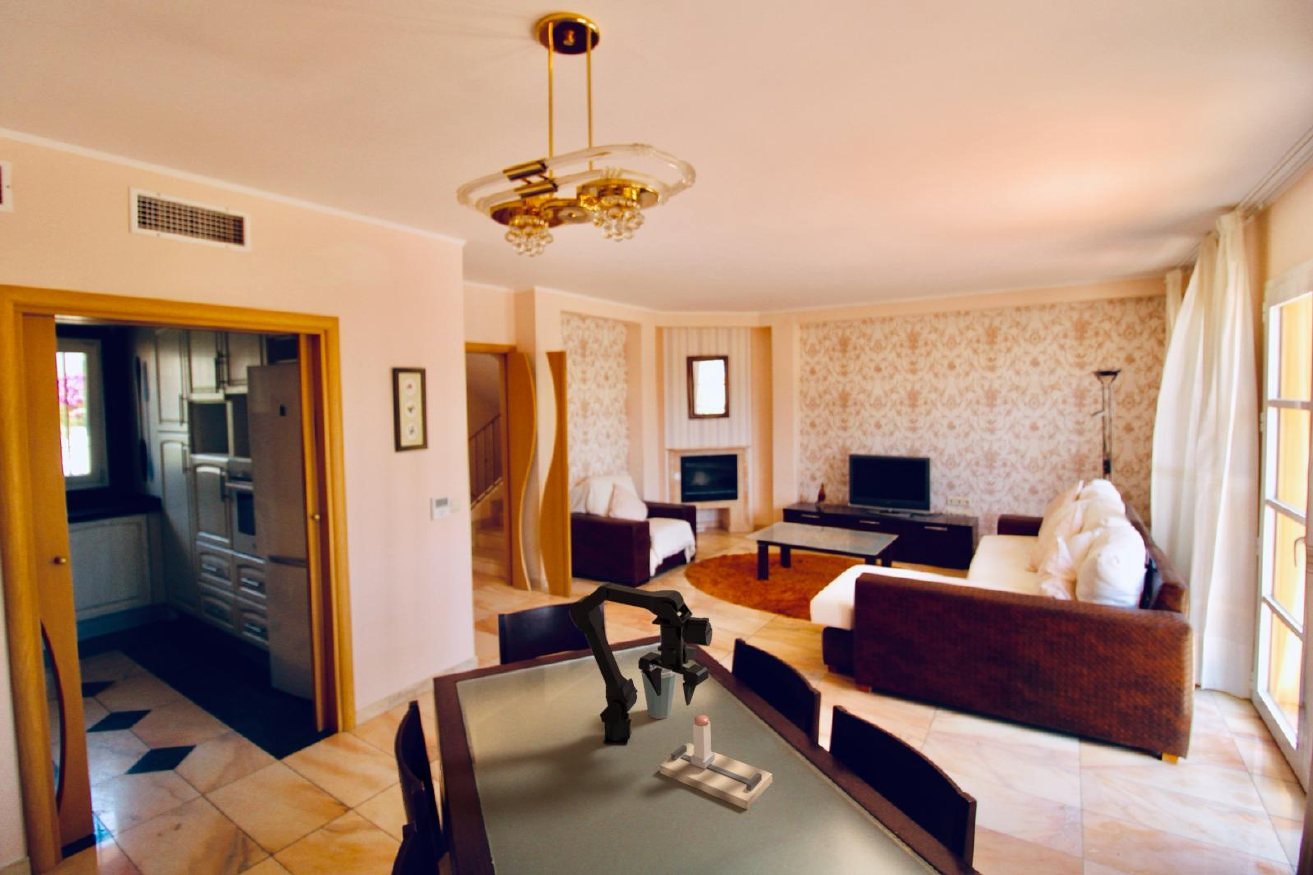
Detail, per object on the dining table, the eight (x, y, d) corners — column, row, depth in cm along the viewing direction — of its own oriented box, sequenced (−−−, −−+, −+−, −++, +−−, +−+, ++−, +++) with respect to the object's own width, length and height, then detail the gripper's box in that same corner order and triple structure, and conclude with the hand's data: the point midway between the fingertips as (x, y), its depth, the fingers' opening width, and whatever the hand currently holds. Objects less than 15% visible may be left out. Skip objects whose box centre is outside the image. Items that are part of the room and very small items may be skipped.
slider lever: (690, 763, 150) (689, 720, 149) (700, 754, 153) (699, 712, 153) (704, 769, 147) (703, 725, 147) (714, 760, 151) (713, 717, 150)
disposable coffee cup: (636, 719, 177) (634, 668, 176) (650, 701, 187) (648, 653, 186) (670, 725, 173) (669, 673, 172) (683, 707, 183) (682, 657, 182)
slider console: (660, 773, 151) (659, 759, 151) (687, 749, 160) (687, 737, 160) (747, 809, 136) (747, 794, 136) (772, 782, 146) (771, 768, 146)
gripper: (719, 638, 160) (720, 697, 161) (661, 624, 172) (663, 679, 172) (695, 653, 151) (697, 715, 152) (635, 637, 163) (638, 695, 164)
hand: (673, 700), depth 160 cm, fingers open, 9 cm apart
